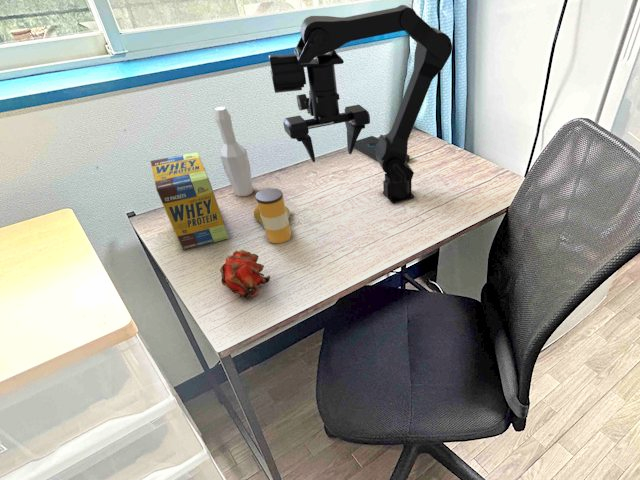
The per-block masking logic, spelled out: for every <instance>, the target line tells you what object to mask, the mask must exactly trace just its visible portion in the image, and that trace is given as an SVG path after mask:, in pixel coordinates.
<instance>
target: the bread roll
mask: <svg viewBox="0 0 640 480" xmlns="http://www.w3.org/2000/svg"><path fill="white" fill-rule="evenodd" d="M285 208H286V212H287V216H288V220H289V219H290V217H291V212H290V211H291V210H290V209H289V207H288V206H286V205H285ZM253 218H254V219H255V220H256V221H257V222H259V224H260V225H262V226H263V222H262V218H261V215H260V210H259V206H258V204H257V205H256V206H255V207H254V210H253Z"/></svg>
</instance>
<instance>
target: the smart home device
mask: <svg viewBox="0 0 640 480" xmlns="http://www.w3.org/2000/svg"><path fill="white" fill-rule="evenodd" d="M378 142H379V138H378V137H377V136H374V135H370V136H367V137H363V138H360V139H357V140H356V143H355V146H354V148H353V149H355V150H357V151H359V152H361V153H362V154H364V155H366V156H367V157H369V158H371V159H372V160H374V161H376V162H377V163H379V162H378V160H377V158H376V150H375V147H376V146H377V145H378ZM410 159H411V158H410V155H409V154H408V153H407V157H406V162H407V163H409V162H410Z"/></svg>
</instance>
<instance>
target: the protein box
mask: <svg viewBox="0 0 640 480" xmlns="http://www.w3.org/2000/svg"><path fill="white" fill-rule="evenodd" d="M150 166H151V171H152V176H153V180H154V184H155V189H156V192H157V195H158V197H159V199H160V201H161V203H162V207H163V208H164V210H165V213H166V216H167V218H168V220H169V222H170V224H171V226H172V228H173V231H174V233H175V236H176V238H177V240H178V242H179V244H180V247H181V249H182V251H186V250H190V249H193V248H197V247H202V246H206V245H208V244H209V245H210V244H212V243H216V242H219V241H225V240H228V239H229V235H228V231H227V228H226V225H225V222H224V219H223V216H222V214H221V211H220V207H219V204H218V201H217V198H216V195H215V192H214V190H213V187H212V184H211V181H210V179H209V175H208V173H207V170H206V168H205V166H204V163H203V161H202V159H201V156H200V154H199V152H191V153H186V154H181V155H176V156H170V157H164V158H159V159H154V160H150Z"/></svg>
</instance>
